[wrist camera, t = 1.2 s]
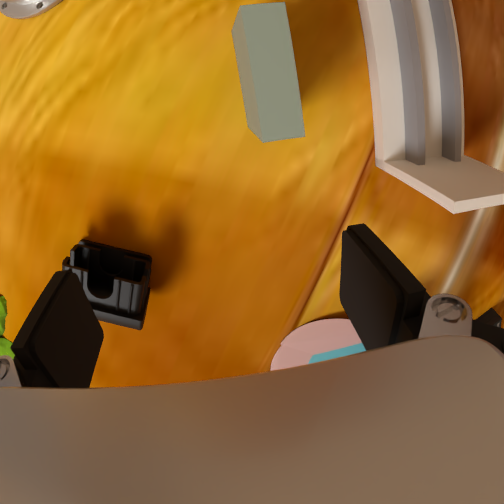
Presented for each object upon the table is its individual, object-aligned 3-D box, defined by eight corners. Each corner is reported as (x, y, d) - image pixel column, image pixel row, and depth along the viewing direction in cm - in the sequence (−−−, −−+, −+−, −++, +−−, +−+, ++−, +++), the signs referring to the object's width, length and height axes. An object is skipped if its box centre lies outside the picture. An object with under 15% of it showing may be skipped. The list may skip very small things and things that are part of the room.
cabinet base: (345, -52, 20) (412, -102, 8) (432, -34, 21) (511, -56, 8) (375, 165, 33) (453, 213, 21) (453, 158, 33) (533, 198, 21)
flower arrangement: (299, 249, 43) (331, 418, 16) (442, 280, 43) (546, 405, 17) (250, 418, 55) (237, 551, 29) (362, 428, 56) (385, 546, 29)
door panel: (231, 31, 25) (240, 5, 16) (262, 27, 25) (284, 2, 16) (247, 126, 30) (263, 142, 21) (277, 122, 30) (305, 136, 21)
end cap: (74, 286, 36) (56, 320, 30) (76, 237, 33) (54, 267, 27) (148, 304, 38) (139, 341, 33) (156, 256, 35) (147, 291, 30)
